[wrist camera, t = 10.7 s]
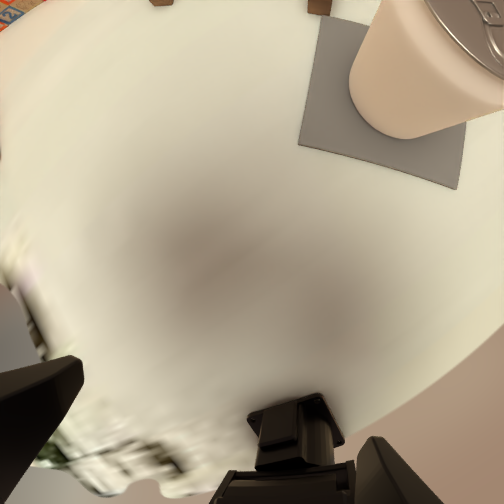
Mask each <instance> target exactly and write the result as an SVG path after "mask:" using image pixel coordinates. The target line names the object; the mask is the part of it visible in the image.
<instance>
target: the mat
mask: <svg viewBox="0 0 504 504" xmlns="http://www.w3.org/2000/svg"><path fill="white" fill-rule="evenodd" d="M369 27H370V26H367V25H363V24H360V23H356V22H352V21H348V20H344V19H339V18H335V17H330V16H325V15H322V19H321V25H320V31H319V36H318V42H317V48H316V53H315V59H314V64H313V70H312V75H311V80H310V86H309V91H308V96H307V102H306V107H305V112H304V117H303V122H302V127H301V132H300V137H299V142H298V145H302V146H307V147H312V148H316V149H320V150H325V151H329V152H333V153H337V154H341V155H345V156H349V157H353V158H356V159H360V160H364V161H367V162H371V163H375V164H378V165H382V166H385V167H388V168H392V169H395V170H398V171H401V172H405V173H408V174H411V175H414V176H417V177H420V178H423V179H426V180H429V181H432V182H435V183H438V184H440V185H443V186H446V187H449V188H452V189H455V190H457V186H458V180H459V175H460V169H461V162H462V155H463V148H464V140H465V131H466V122H463V123H460V124H457V125H454V126H451V127H448V128H445V129H442V130H439V131H436V132H433V133H430V134H427V135H423V136H420V137H417V138H413V139H398V138H394V137H391V136H388V135H385V134H383V133H381V132H380V131H378V130H376V129H375V128H373V127H372V126H371V125H370V124H369V123H368V122H367V121H366V120H365V119H364V118H363V117H362V116H361V115H360V113H359V112H358V110H357V109H356V107H355V105H354V103H353V101H352V98H351V95H350V90H349V75H350V71H351V68H352V65H353V63H354V60H355V58H356V56H357V54H358V51H359V49H360V47H361V45H362V43H363V40H364V38H365V36H366V34H367V32H368V29H369Z"/></svg>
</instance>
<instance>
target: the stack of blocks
mask: <svg viewBox="0 0 504 504" xmlns="http://www.w3.org/2000/svg"><path fill="white" fill-rule="evenodd" d="M44 1H46V0H0V31H2V30H3V29H4V28H6V27H7V26H8V25H9V24H11V23H12V22H14V21H15V20H16V19H18V18H19V17H21V16H22V15H24V14H25V13H26V12H28V11H30V10H31V9H33V8H34V7H36V6H37V5H39V4H41V3H42V2H44Z"/></svg>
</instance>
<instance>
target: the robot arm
mask: <svg viewBox="0 0 504 504" xmlns="http://www.w3.org/2000/svg"><path fill="white" fill-rule="evenodd" d="M83 384H84V372H83V363H82V361H81V360H80V359H79V358H77V357H75V356H72V355H68V356H65V357H61V358H57V359H53V360H50V361H46V362H42V363H38V364H35V365H31V366H27V367H23V368H19V369H15V370H11V371H6V372H2V373H0V504H4V503H5V501H6V500H7V498H8V497H9V495H10V494H11V492H12V491H13V489H14V488H15V487H16V485H17V484H18V482H19V481H20V479H21V478H22V476H23V475H24V473H25V472H26V470H27V469H28V468H29V466H30V465H31V463H32V462H33V460H34V459H35V458H36V456H37V455H38V453H39V452H40V451H41V449H42V448H43V446H44V445H45V444H46V442H47V441H48V439H49V438H50V437H51V435H52V434H53V433H54V431H55V430H56V429H57V427H58V426H59V424H60V423H61V422H62V420H63V419H64V417H65V416H66V414H67V412H68V410H69V409H70V407H71V405H72V403H73V402H74V400H75V398H76V396H77V395H78V393H79V391H80V390H81V388H82V386H83ZM316 399H320V400H319V401H315V400H316ZM253 419H255V420H253ZM247 422H248V423H249V425H250V426H251V428H252V429H253V431H254V432H255V433H256V435H257V436H258V437H259V440H258V452H257V457H256V462H255V469H256V471H237V470H229V471H228V473H227V474H226V476H225V478H224V479H223V481H222V483H221V484H220V486H219V488H218V489H217V491H216V492H215V494H214V496H213V497H212V499H211V501H210V502H209V504H444V503H443V502H442V501H441V500H440V499H439V498H438V497H437V496H436V495H435V494H434V493H433V491H431V489H430V488H429V487H428V486H427V485H426V484H425V483H424V482H423V481H422V480H421V479H420V477H419V476H418V475H417V474H416V473H415V472H414V471H413V470H412V469H411V468H410V466H409V465H408V464H407V463H406V462H405V461H404V460H403V459H402V458H401V456H400V455H399V454H398V453H397V452H396V451H395V450H394V449H393V448H392V446H391V445H390V444H389V443H388V442H387V441H386V440H385V439H384V438H383V437H378V436H371V437H369V438H368V439H367V441H366V443H365V444H364V445H363V447H362V448H361V450H360V451H359V454H358V456H357V467H356V470H355V464H354V460H350V461H346V462H345V463H339V464H335V462H334V449H333V448H336V447H339V446H342V445H343V444H344V443H345V439H344V436H343V434H342V432H341V430H340V428H339V426H338V424H337V422H336V420H335V418H334V416H333V414H332V412H331V411H330V409H329V407H328V405H327V403H326V401H325V399H324V397H323V395H321V394H318V393H317V394H313V395H310V396H307V397H304V398H301V399H298V400H295V401H291V402H288V403H285V404H282V405H278V406H275V407H272V408H268V409H265V410H262V411H258V412H255V413H251V414H249V415H248V417H247Z"/></svg>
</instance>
